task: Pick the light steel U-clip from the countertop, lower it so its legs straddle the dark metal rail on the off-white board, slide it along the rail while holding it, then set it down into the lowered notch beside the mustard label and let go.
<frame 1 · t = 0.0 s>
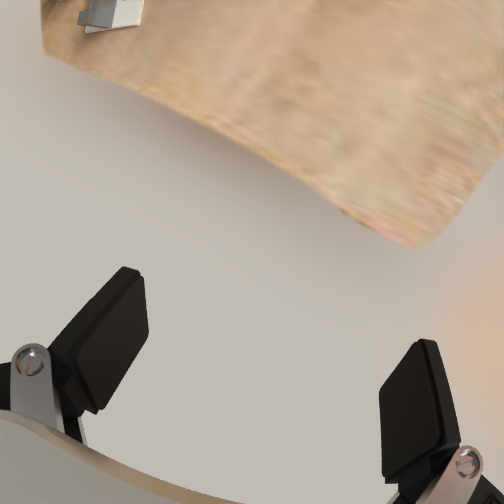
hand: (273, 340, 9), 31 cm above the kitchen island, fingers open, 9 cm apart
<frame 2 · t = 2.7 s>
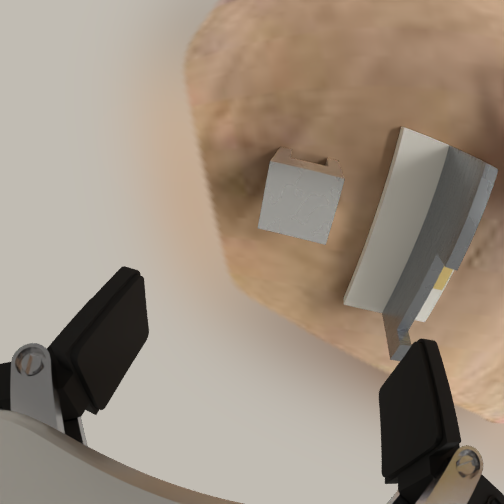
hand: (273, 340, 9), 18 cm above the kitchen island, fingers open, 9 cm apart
base board: (419, 235, 25), on the kitchen island
clip: (303, 180, 25), on the kitchen island
rail: (433, 257, 21), on the base board, point 4 cm above the kitchen island
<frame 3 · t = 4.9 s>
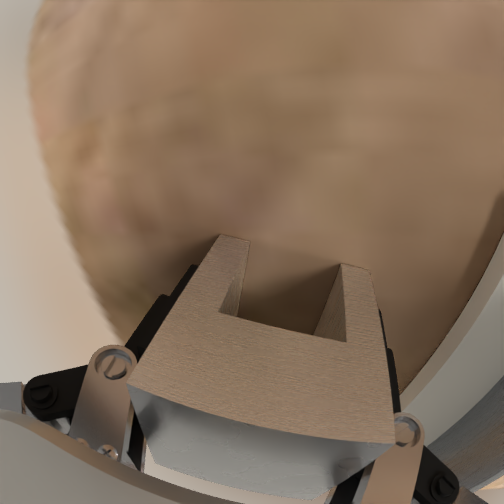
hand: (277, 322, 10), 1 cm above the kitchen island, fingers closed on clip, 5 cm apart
base board: (488, 379, 11), on the kitchen island
clip: (279, 310, 11), on the kitchen island, touching gripper
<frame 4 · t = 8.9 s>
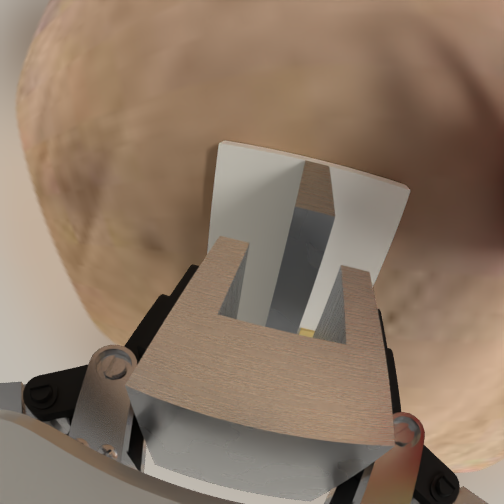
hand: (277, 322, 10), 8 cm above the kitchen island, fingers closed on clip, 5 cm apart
base board: (282, 295, 19), on the kitchen island
clip: (279, 311, 11), point 7 cm above the kitchen island, touching gripper
rail: (272, 341, 16), on the base board, point 4 cm above the kitchen island
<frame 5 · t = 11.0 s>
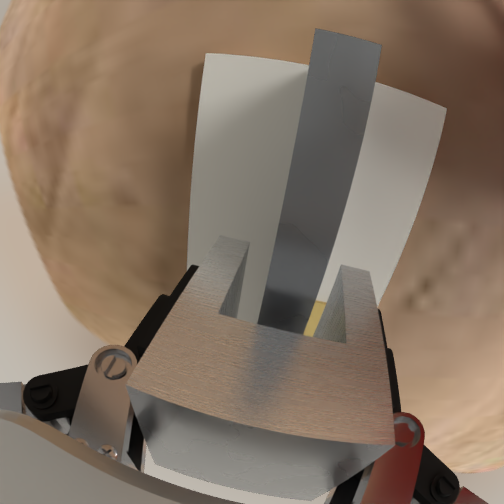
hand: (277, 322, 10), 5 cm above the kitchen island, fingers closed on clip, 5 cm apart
base board: (289, 257, 15), on the kitchen island
clip: (279, 311, 11), point 5 cm above the kitchen island, touching gripper
rail: (279, 312, 11), on the base board, point 4 cm above the kitchen island
when the fingers open (3 cm above the kitchen island, at t = 13.0 s): clip stays where it is, resting on rail.
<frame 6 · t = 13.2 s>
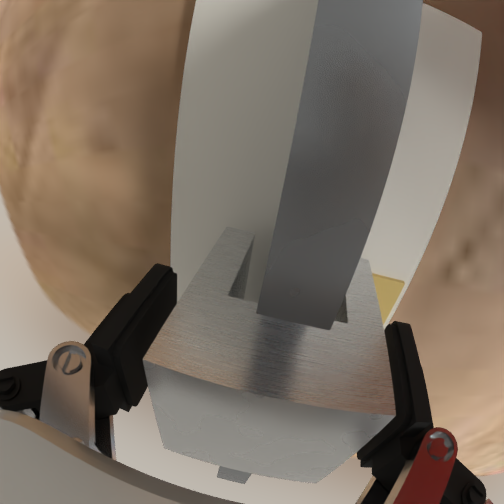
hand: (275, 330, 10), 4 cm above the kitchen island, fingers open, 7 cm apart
base board: (303, 208, 11), on the kitchen island
clip: (283, 299, 11), point 2 cm above the kitchen island, touching rail
rail: (295, 266, 8), on the base board, point 4 cm above the kitchen island
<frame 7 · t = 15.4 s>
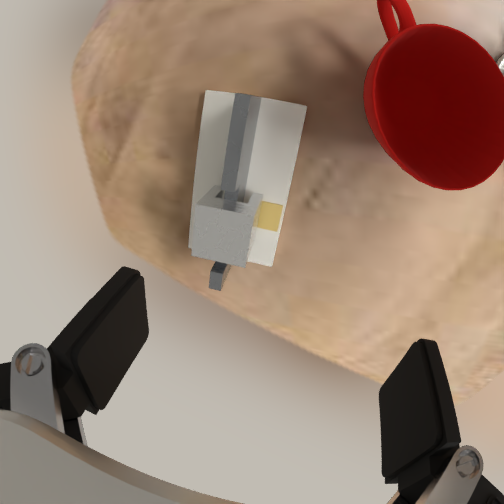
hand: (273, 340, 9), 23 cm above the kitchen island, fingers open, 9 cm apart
base board: (242, 179, 31), on the kitchen island
clip: (235, 212, 31), point 2 cm above the kitchen island, touching rail
rail: (234, 191, 27), on the base board, point 4 cm above the kitchen island
ceramic cup: (401, 85, 24), on the kitchen island
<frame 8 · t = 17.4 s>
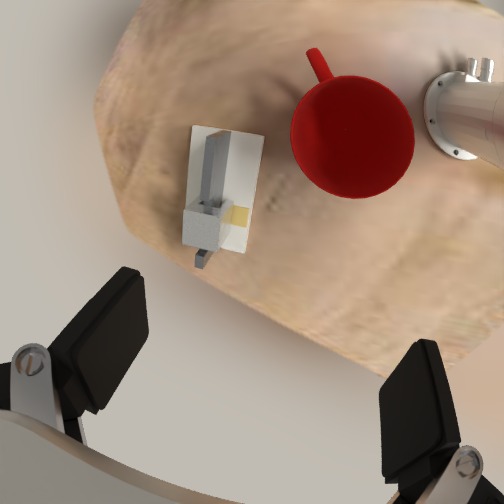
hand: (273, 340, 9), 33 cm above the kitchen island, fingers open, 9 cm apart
base board: (221, 190, 43), on the kitchen island
clip: (215, 213, 43), point 2 cm above the kitchen island, touching rail
rail: (211, 199, 39), on the base board, point 4 cm above the kitchen island
ceramic cup: (339, 115, 35), on the kitchen island
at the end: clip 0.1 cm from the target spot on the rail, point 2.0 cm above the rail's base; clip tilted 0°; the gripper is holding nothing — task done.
